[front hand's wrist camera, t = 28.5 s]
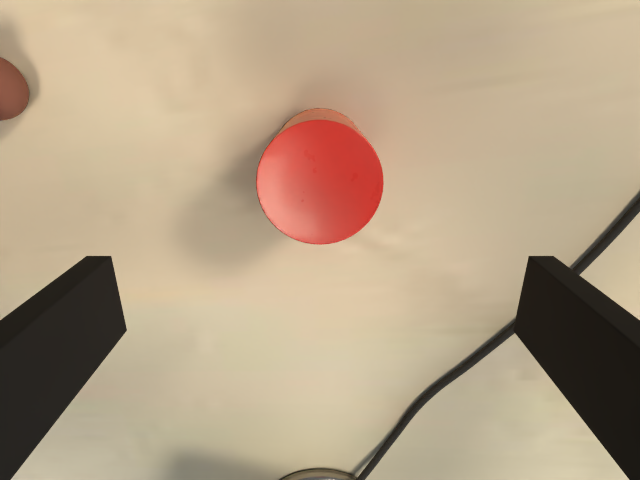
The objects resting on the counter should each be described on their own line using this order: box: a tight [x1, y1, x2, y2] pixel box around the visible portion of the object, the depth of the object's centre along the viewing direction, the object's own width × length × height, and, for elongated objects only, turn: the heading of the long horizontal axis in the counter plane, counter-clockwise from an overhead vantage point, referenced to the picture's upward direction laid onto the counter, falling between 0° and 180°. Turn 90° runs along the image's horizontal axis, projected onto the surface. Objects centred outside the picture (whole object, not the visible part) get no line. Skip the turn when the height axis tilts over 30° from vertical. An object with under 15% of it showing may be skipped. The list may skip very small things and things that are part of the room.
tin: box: [256, 108, 383, 244], centre depth 31 cm, size 8×8×11 cm
